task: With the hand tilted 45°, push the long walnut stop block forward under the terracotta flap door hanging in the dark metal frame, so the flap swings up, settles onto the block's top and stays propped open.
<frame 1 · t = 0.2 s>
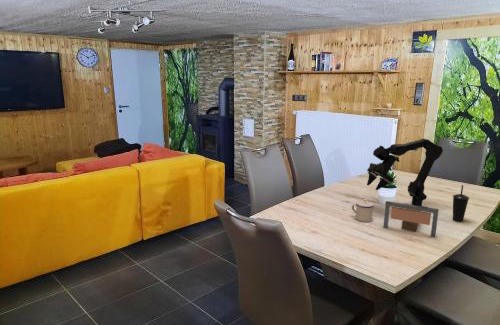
hand: (371, 187, 201), 15 cm above the table, tool tilted 35°, fingers open, 9 cm apart
gate frame: (408, 231, 177), on the table
stop block: (410, 225, 185), on the table
drinking cup: (457, 220, 191), on the table
flap door: (410, 215, 175), point 9 cm above the table, hinge at 0.0°
teacup with lid: (361, 218, 195), on the table
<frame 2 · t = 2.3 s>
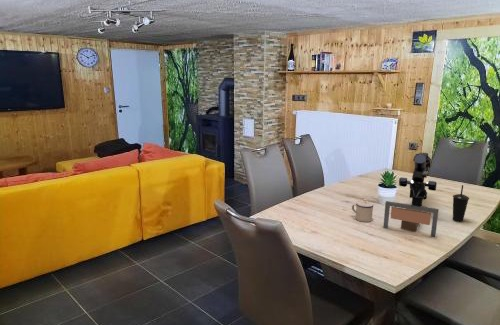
hand: (415, 197, 191), 13 cm above the table, tool tilted 45°, fingers closed
nothing on the table moved.
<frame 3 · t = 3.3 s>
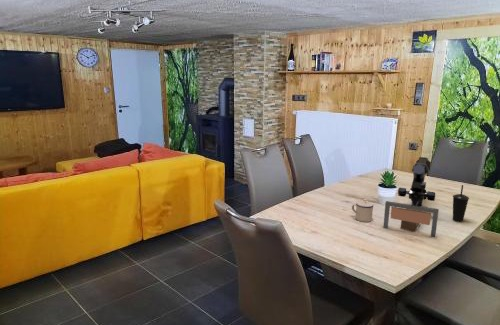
hand: (414, 207, 192), 7 cm above the table, tool tilted 45°, fingers closed
nothing on the table moved.
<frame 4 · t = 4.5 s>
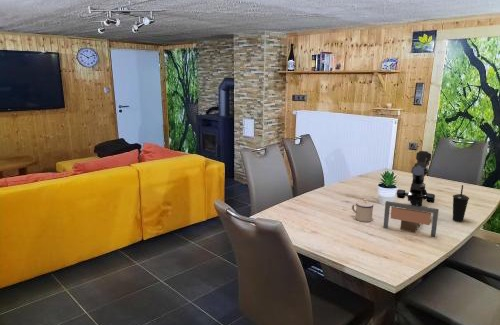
hand: (413, 209, 189), 7 cm above the table, tool tilted 45°, fingers closed
nothing on the table moved.
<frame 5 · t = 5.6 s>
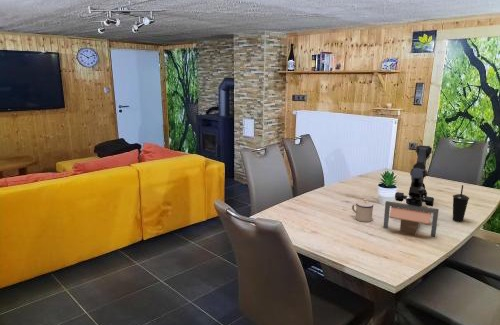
hand: (411, 213, 185), 6 cm above the table, tool tilted 45°, fingers closed, pressing on stop block
stop block: (409, 229, 180), on the table, touching flap door, gripper
flap door: (409, 215, 173), point 10 cm above the table, hinge at 49.4°, touching stop block
everything else where it was.
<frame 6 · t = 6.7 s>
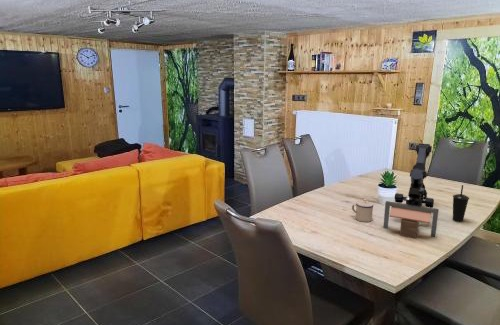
hand: (411, 214, 182), 7 cm above the table, tool tilted 45°, fingers closed
stop block: (409, 232, 177), on the table
flap door: (409, 214, 173), point 10 cm above the table, hinge at 58.0°
everything else where it was.
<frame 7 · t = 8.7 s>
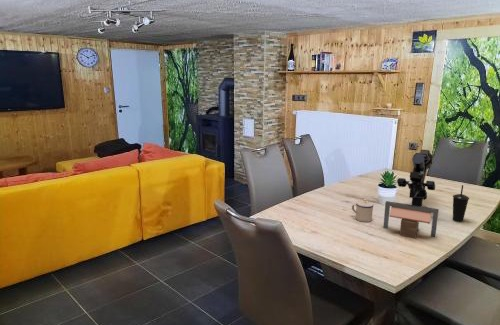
hand: (413, 197, 191), 12 cm above the table, tool tilted 40°, fingers closed
nothing on the table moved.
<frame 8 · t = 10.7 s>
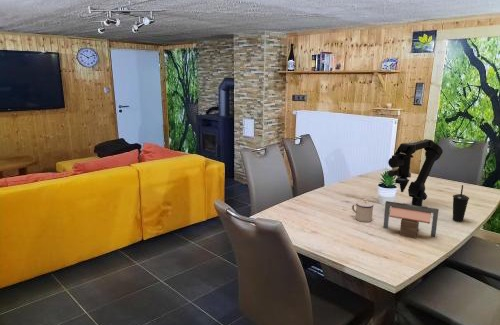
hand: (402, 192, 202), 12 cm above the table, tool pointing down, fingers closed
nothing on the table moved.
at the end: flap door at +58° (first picture: +0°); stop block inside the target area (0.5 cm from its centre), on the table; stop block tilted 0° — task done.
